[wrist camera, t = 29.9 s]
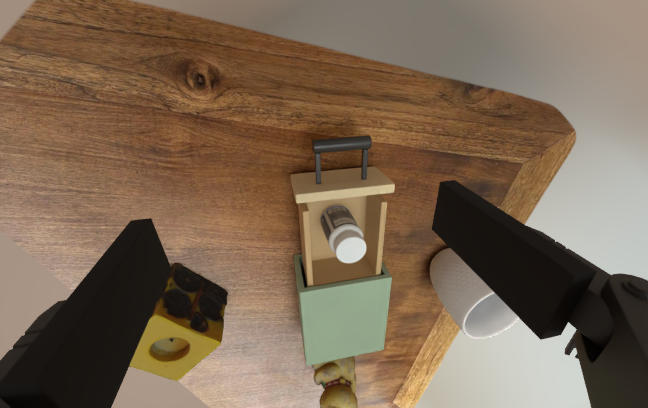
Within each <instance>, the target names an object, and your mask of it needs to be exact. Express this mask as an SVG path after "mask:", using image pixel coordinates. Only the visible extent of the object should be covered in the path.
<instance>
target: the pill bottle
mask: <svg viewBox="0 0 648 408" xmlns="http://www.w3.org/2000/svg"><path fill="white" fill-rule="evenodd" d="M321 225H322V228H323V231H324V233H325V236H326V239H327V241H328V244H329V246H330V248H331V250H332V251H333V252H335V254H336V256H337V258H338V259H339V260H340V261H341V262H344V263H354V262H356V261H358V260H360V259H361V258H362V257H363V256H364V254H365V252H366V243H365V241H364V239H363V233H362V231H361V229H360V227H359V226H358V224H357V223H356V221H355V219H354V218H353V216H352V214H351V213H350V211H349V210H348V209H347V208H346V207H344V206H342V205H333V206H330V207H329V208H327V209H326V210H325V211H324V212H323V214H322V215H321Z"/></svg>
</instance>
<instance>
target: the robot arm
mask: <svg viewBox="0 0 648 408" xmlns="http://www.w3.org/2000/svg"><path fill="white" fill-rule="evenodd" d="M432 230H433V231H434V232H435V233H436V234H437V235H438V236H439V237H440V238H441V239H442V240H443V241H444V242H445V243H446V244H447V245H448V246H449V247H450V248H451V249H452V250H453V251H454V252H455V253H456V254H457V255H458V256H459V257H460V258H461V259H462V260H463V261H464V262H465V263H466V264H467V265H468V266H469V267H470V268H471V269H472V270H473V271H474V272H475V273H476V274H477V275H478V276H479V277H480V278H481V279H482V280H483V281H484V282H485V284H486V285H487V286H488V287H489V288H490V289H491V290H492V291H493V292H494V293H495V294H496V295H497V296H498V297H499V298H500V299H501V300H502V301H503V302H504V303H505V304H506V305H507V306H508V307H509V308H510V309H511V310H512V311H513V312H514V313H515V314H516V315H517V316H518V317H519V318H520V319H521V320H522V321H523V322H524V323H525V324H526V325H527V326H528V327H529V328H530V329H531V330H532V331H533V332H534V333H535V334H536V335H537V336H538V337H539V338H540V339H545V338H550V337H554V336H558V335H561V333H562V332H563V330H564V328H565V327H566V325H567V323H568V322H569V323H570V324H571V325H573V326H574V327H575V328H576V329H577V330H576V332H575V334H574V335H573V337H572V339H571V340H570V342H569V343H568V345H567V347H566V348H565V354H567V355H570V353H571V352H572V350H573V348H576V349H577V355H576V356H575V357H576V358H578V359H579V361H580V365H581V369H582V372H583V376H584V380H585V384H586V388H587V392H588V396H589V400H590V404H591V408H648V281H647V280H645V279H643V278H639V277H636V276H633V275H627V274H613V275H610V274H608V273H607V272H605V271H603V270H601V269H600V268H599V267H597V266H595V265H594V264H592V263H591V262H589V261H587V260H586V259H584V258H583V257H581V256H579V255H578V254H576V253H575V252H573V251H571V250H570V249H566V248H565V246H563V245H562V244H560V243H559V242H555V240H554V239H552V238H551V237H549V236H547V235H545V234H544V233H543V232H540V231H538V230H535V229H533V228H530V227H528V226H525V225H524V224H522V223H521V222H519V221H518V220H516V219H514V218H513V217H511V216H510V215H508V214H507V213H505V212H503V211H502V210H500V209H499V208H497V207H496V206H494V205H493V204H491V203H489V202H488V201H486V200H485V199H483V198H482V197H480V196H478V195H477V194H475V193H474V192H472V191H471V190H469V189H467V188H466V187H464V186H463V185H461V184H460V183H458V182H457V181H455V180H452V181H444V182H440V186H439V192H438V197H437V203H436V209H435V214H434V220H433V225H432ZM170 271H171V267H170V264H169V262H168V259H167V257H166V254H165V252H164V249H163V247H162V244H161V242H160V239H159V237H158V234H157V232H156V229H155V227H154V225H153V222H152V220H151V218H150V219H142V220H134V221H130V223H129V224H128V225H127V226H126V228H125V229H124V230H123V231H122V232H121V234H120V235H119V236H118V237H117V239H116V240H115V241H114V242H113V244H112V245H111V246H110V247H109V248H108V250H107V251H106V252H105V253H104V255H103V256H102V257H101V258H100V260H99V261H98V262H97V263H96V264H95V266H94V267H93V268H92V269H91V271H90V272H89V273H88V274H87V276H86V277H85V278H84V279H83V280H82V282H81V283H80V284H79V285H78V287H77V288H76V289H75V290H74V292H73V293H72V294H71V295H70V297H69V298H68V299H67V300H64V301H58V302H57V303H56V304H54V305H53V306H52V307H50V308H49V309H48V310H47V311H45V312H44V313H43V314H41V315H40V316H39V317H38V318H37V319H36V320H35V321H34V323H33V324H32V325H31V326H30V327H29V328H28V330H27V331H26V332H25V335H24V336H21V337H20V339H19V340H18V341H17V342H16V343H15V344H14V346H13V349H12V350H9V351H8V352H7V354H6V355H5V356H4V357H3V358H2V359H1V360H0V408H111V406H112V404H113V402H114V399H115V397H116V395H117V392H118V390H119V388H120V386H121V383H122V381H123V379H124V376H125V374H126V372H127V370H128V367H129V365H130V363H131V361H132V358H133V356H134V354H135V351H136V349H137V347H138V344H139V342H140V340H141V338H142V335H143V333H144V331H145V328H146V326H147V324H148V322H149V319H150V317H151V315H152V312H153V310H154V308H155V305H156V303H157V301H158V299H159V296H160V294H161V292H162V289H163V287H164V285H165V283H166V280H167V278H168V276H169V273H170Z"/></svg>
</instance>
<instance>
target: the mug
mask: <svg viewBox="0 0 648 408" xmlns="http://www.w3.org/2000/svg"><path fill="white" fill-rule="evenodd" d="M430 278H431V281H432V285H433V287H434V290H435V292H436V294H437V296H438V297H439V300H440V301H441V302H442V304H443V306H444V307H445V308H446V310H447V312H448V313H449V314H450V316H451V317H452V318H453V319H454V321H455V322H456V323H457V324H458V326H459V327H460V328H461V330H462V331H463V332H464V334H466V335H467V336H468V337H470V338H473V339H485V338H490V337H493V336H495V335H498V334H500V333H501V332H503V331H505V330H507V329H508V328H509V327H511V326H512V325H513V324H514V323H515V322H516V321H517V320H518V319H519V317H518V316H517V315H516V314H515V313H514V312H513V311H512V310H511V309H510V308H509V307H508V306H507V305H506V304H505V303H504V302H503V301H502V300H501V299H500V298H499V297H498V296H497V295H496V294H495V293H494V292H493V291H492V290H491V289H490V288H489V287H488V286H487V285H486V284H485V282H484V281H483V280H482V279H481V278H480V277H479V276H478V275H477V274H476V273H475V272H474V271H473V270H472V269H471V268H470V267H469V266H468V265H467V264H466V263H465V262H464V261H463V260H462V259H461V258H460V257H459V256H458V255H457V254H456V253H455V252H454V251H453V250H452V249H451V248H447V249H444V250H442V251H440V252H439V253H437V254H436V255H435V256H434V258H433V259H432V261H431V264H430Z"/></svg>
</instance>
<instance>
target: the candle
mask: <svg viewBox="0 0 648 408" xmlns="http://www.w3.org/2000/svg"><path fill="white" fill-rule="evenodd" d="M227 295H228V293H227V292H226V291H225V290H224V289H222V288H220V287H219V286H217V285H215V284H212V283H211V282H210V281H208V280H206V279H204V278H202V277H200V276H199V275H197V274H195V273H193V272H191V271H190V270H188V269H186V268H184V267H182V266H181V265H179V264H174V265H173V266H172V267H171V271H170V273H169V276H168V278H167V280H166V283H165V285H164V287H163V289H162V292H161V294H160V296H159V299H158V301H157V303H156V305H155V308H154V310H153V312H152V315H151V317H150V319H149V322H148V324H147V326H146V328H145V331H144V333H143V335H142V338H141V340H140V342H139V344H138V347H137V349H136V351H135V354H134V356H133V358H132V361H131V363H130V365H129V367H133V368H136V369H140V370H143V371H146V372H149V373H152V374H155V375H158V376H161V377H165V378H168V379H171V380H175V381H178V380H179V379H181V378H182V377H183V376H184V375H185V374H186V373H188V372H189V371H190V370H191V369H192V368H193V367H194V366H195V365H196V364H198V363H199V362H200V361H201V360H202V359H204V358H205V357H206V356H208V355H209V354H210V353H211V352H212V351H213V350H215V349H216V348H217V347H218V346H219V345H220V344H221V341H222V335H223V327H224V319H223V317H224V309H225V306H226V305H227Z"/></svg>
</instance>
